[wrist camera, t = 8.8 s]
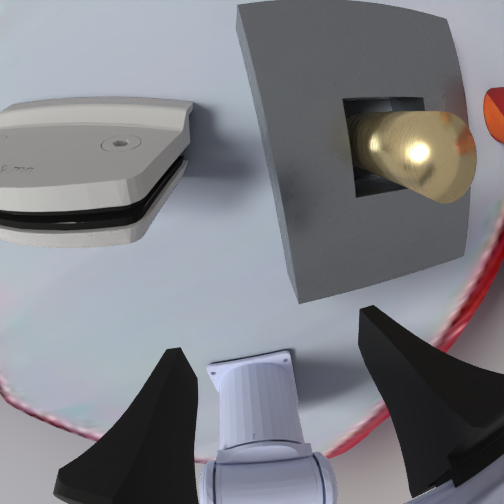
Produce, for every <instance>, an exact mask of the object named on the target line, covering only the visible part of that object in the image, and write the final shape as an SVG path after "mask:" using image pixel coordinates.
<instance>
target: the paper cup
mask: <svg viewBox="0 0 504 504" xmlns="http://www.w3.org/2000/svg"><path fill="white" fill-rule="evenodd" d="M484 117H485V122H486V125H487V128H488V130H489V132H490V134H491V135H492V137H493V138H494V139H495V140H497V141H499V142H501V143H504V87H499V88H491V89H489V90H488V91H487V93H486V95H485V98H484Z"/></svg>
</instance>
